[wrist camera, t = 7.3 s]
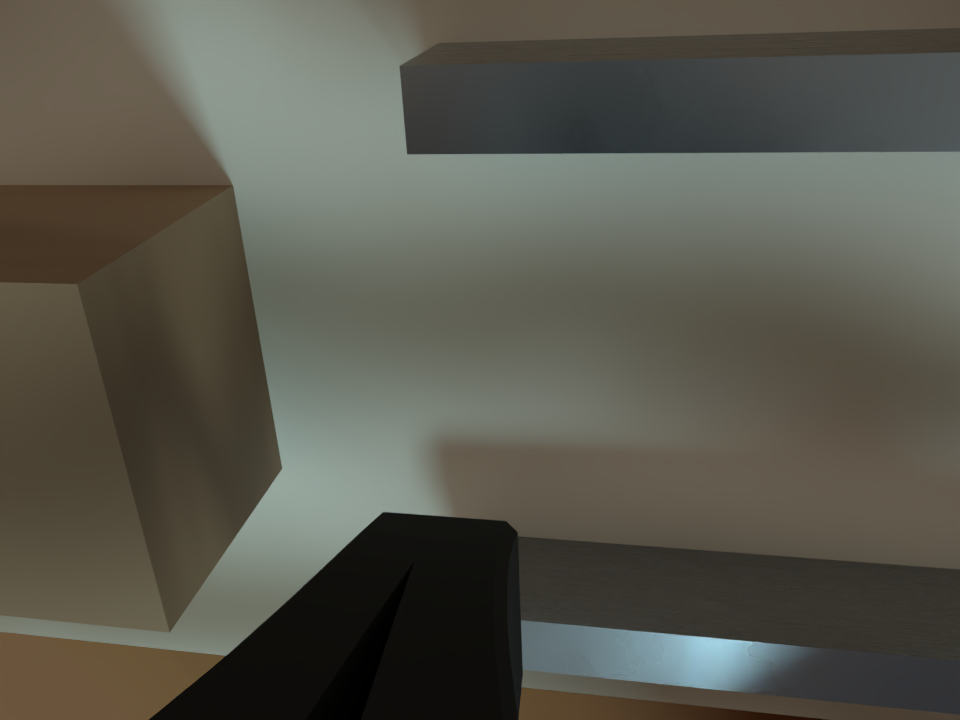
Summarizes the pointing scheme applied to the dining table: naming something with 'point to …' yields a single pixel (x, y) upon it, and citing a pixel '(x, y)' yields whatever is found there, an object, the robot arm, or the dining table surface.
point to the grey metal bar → (715, 129)
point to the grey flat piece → (528, 298)
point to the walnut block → (125, 399)
